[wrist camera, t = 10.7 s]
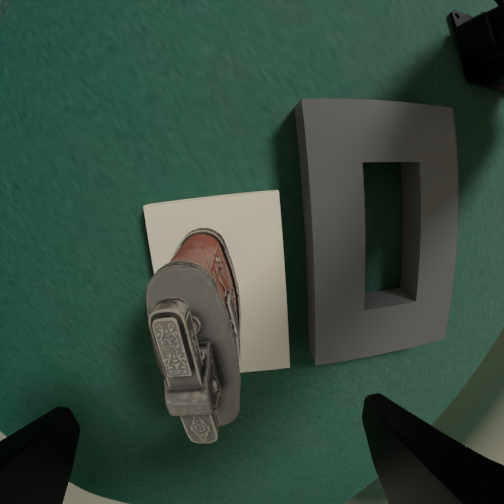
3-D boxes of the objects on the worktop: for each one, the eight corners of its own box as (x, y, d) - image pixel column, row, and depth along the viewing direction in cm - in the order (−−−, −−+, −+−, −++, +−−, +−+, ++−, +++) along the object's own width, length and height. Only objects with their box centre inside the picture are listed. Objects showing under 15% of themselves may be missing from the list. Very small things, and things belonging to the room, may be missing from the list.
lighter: (248, 344, 20) (252, 464, 11) (198, 349, 20) (173, 467, 11) (228, 223, 18) (213, 286, 9) (172, 232, 18) (104, 298, 9)
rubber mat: (277, 189, 19) (279, 190, 18) (288, 359, 22) (290, 367, 21) (148, 204, 19) (143, 206, 18) (179, 367, 22) (177, 375, 21)
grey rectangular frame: (432, 112, 18) (452, 107, 15) (428, 324, 22) (444, 339, 19) (294, 107, 18) (301, 99, 15) (308, 345, 22) (315, 365, 19)
